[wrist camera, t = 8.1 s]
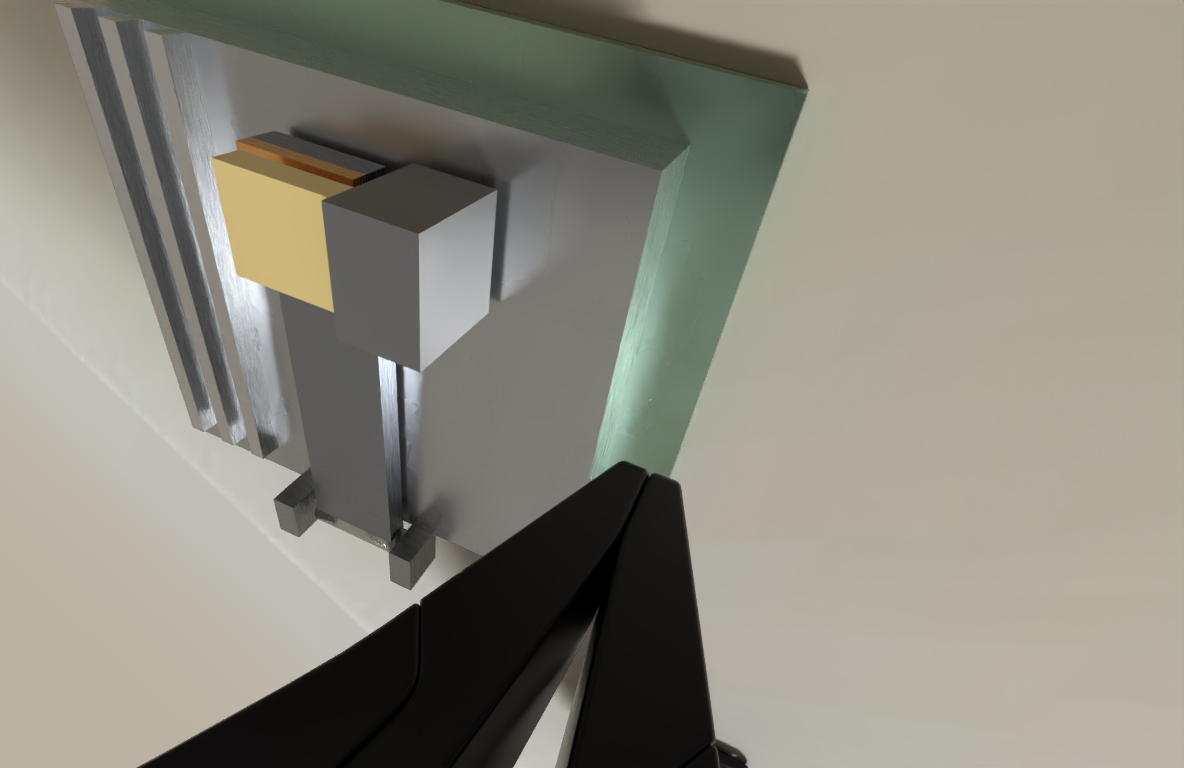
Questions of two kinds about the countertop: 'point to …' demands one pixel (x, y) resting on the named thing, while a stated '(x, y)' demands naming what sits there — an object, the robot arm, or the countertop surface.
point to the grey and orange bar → (341, 383)
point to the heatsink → (521, 237)
